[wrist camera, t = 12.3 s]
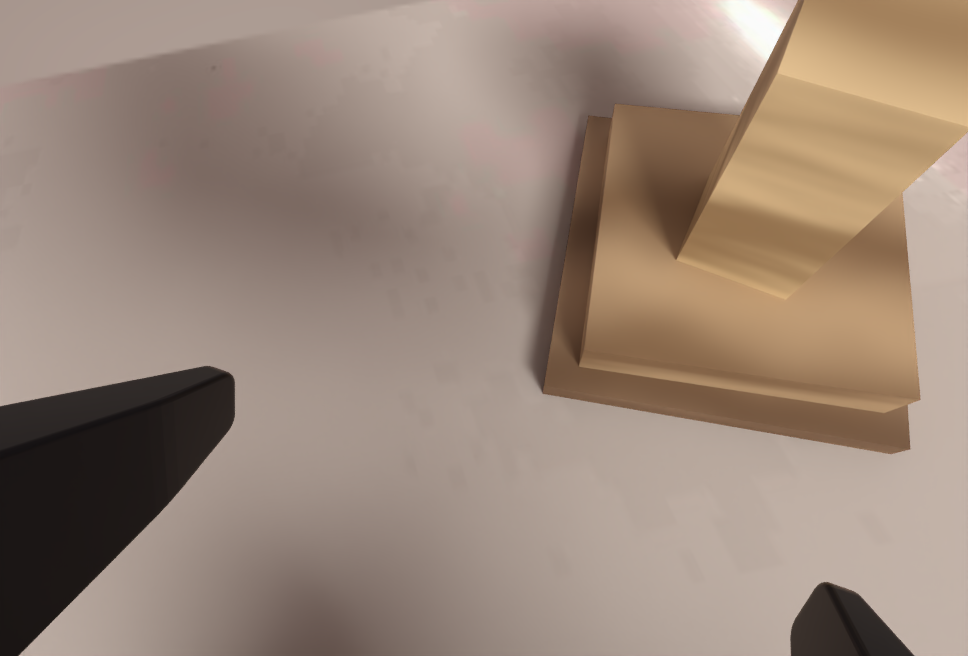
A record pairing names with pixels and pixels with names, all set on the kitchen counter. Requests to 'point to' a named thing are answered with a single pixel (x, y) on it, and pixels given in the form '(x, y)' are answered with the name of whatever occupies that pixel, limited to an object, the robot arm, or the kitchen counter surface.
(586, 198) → the bottom slab
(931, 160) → the oak block
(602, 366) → the top slab
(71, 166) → the kitchen counter surface
